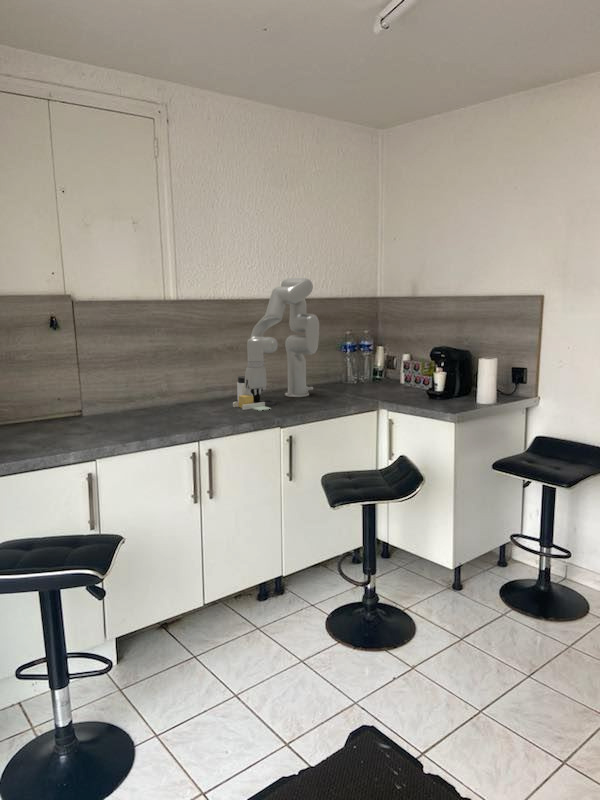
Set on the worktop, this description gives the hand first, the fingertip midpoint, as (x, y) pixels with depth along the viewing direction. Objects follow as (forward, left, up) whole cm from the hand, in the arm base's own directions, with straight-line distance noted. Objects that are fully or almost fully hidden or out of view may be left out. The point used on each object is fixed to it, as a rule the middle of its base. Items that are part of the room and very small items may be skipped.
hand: (256, 402), depth 275 cm
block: (+6, 0, -2) cm, 6 cm away
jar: (-3, -14, -2) cm, 14 cm away
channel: (+4, 0, -1) cm, 5 cm away
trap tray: (-5, 0, -1) cm, 6 cm away
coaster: (+3, +8, -1) cm, 9 cm away
